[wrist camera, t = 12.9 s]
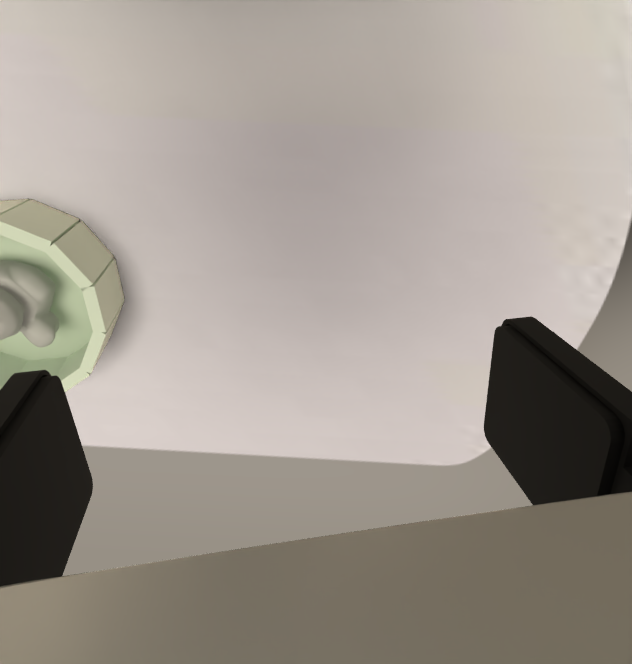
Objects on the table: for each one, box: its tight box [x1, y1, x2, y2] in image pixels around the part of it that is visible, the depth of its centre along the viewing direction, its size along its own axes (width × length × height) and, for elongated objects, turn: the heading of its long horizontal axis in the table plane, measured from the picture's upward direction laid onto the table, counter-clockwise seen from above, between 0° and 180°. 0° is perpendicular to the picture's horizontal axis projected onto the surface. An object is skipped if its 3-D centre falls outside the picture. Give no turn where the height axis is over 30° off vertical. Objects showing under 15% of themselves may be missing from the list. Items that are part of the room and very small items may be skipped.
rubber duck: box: [0, 260, 60, 347], centre depth 33 cm, size 5×7×8 cm
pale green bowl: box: [0, 199, 124, 392], centre depth 34 cm, size 13×13×6 cm
